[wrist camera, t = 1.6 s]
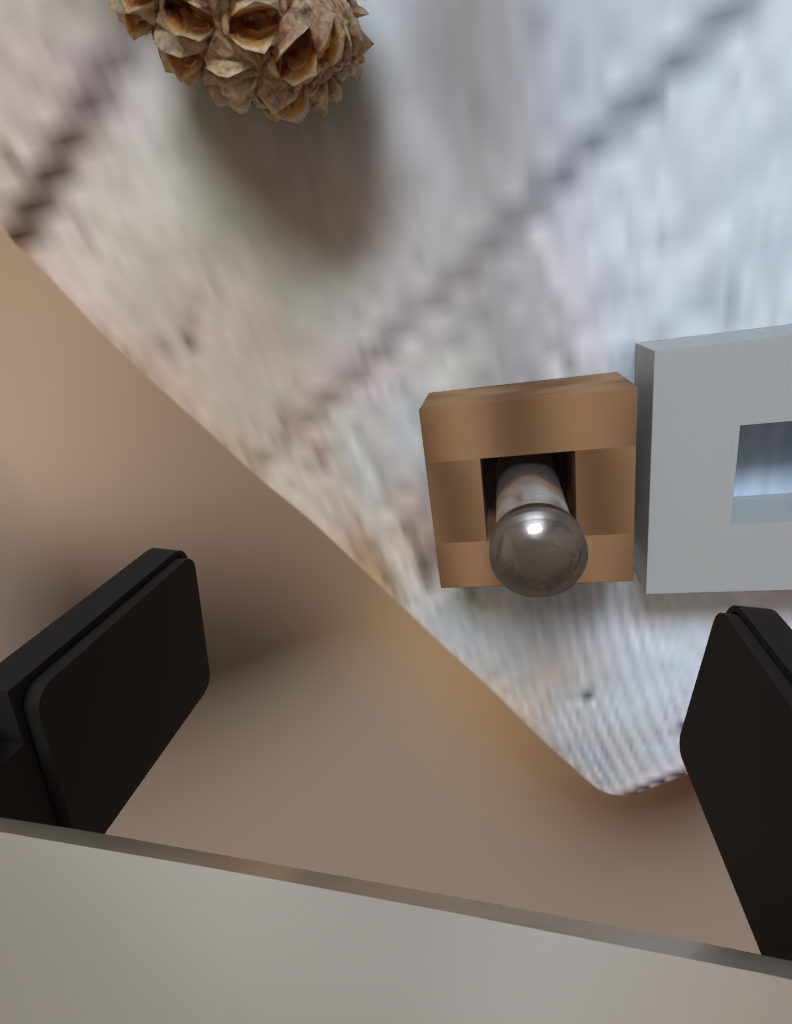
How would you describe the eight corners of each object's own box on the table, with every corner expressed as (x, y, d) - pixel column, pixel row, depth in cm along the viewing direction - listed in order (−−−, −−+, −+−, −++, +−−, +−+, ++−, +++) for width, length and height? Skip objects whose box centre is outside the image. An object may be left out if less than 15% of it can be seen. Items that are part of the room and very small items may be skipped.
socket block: (927, 307, 28) (992, 311, 24) (876, 552, 33) (924, 585, 29) (635, 343, 31) (654, 351, 27) (630, 562, 36) (646, 594, 32)
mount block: (616, 372, 31) (637, 387, 27) (615, 542, 35) (632, 580, 31) (429, 392, 34) (419, 410, 29) (447, 551, 38) (441, 587, 33)
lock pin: (557, 434, 33) (587, 508, 22) (559, 497, 35) (588, 595, 24) (488, 440, 34) (485, 514, 23) (493, 502, 36) (492, 598, 25)
